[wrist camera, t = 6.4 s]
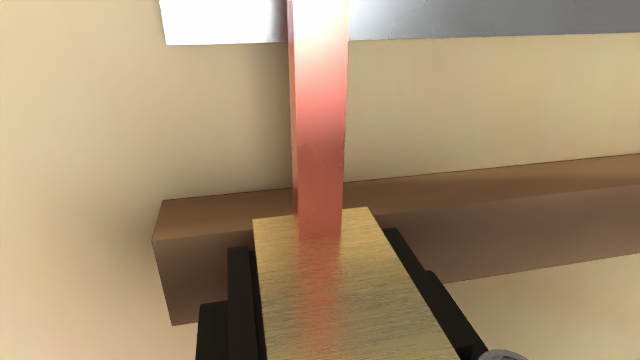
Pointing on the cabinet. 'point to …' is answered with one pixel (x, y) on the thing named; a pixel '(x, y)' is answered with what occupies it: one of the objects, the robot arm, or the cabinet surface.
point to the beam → (424, 223)
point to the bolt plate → (398, 19)
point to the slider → (332, 227)
